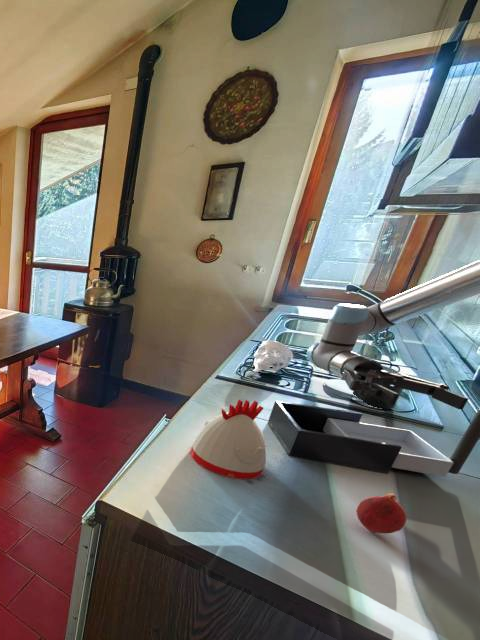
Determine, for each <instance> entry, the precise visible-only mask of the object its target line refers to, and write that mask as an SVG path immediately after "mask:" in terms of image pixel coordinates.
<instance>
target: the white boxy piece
mask: <svg viewBox="0 0 480 640" xmlns="http://www.w3.org/2000/svg"><path fill="white" fill-rule="evenodd" d="M323 431H324V432H325V433H326V434H332V435H338V436H345V437H351V438H357V439H363V440H369V441H376V442H382V443H388V444H394V445H400V446H401V447H402V448H401V450H400V452H399V454H398V455H397V457H396V459H395V461H394V463H393V465H392V467H391V468H392V469H393V468H394V469H399V470H405V471H410V472H417V473H420V474H421V473H422V474H428V475H432V476H437V477H438V476H439V477H447V475H448V473H450V474H453V475H458V474H459V473H460V471H461V470H462V468H463V466H464V465H465V463H466V461H467V460H468V458H469V457H470V454H471V453H472V451H473V450H474V448H475V447H476V445H477V443H478V442H479V440H480V408H479V409H477V411H476V413H475V415H474V417H473V418H472V419H471V421H470V423H469V425H468V427H467V428H466V429H465V432H464V433H463V435H462V437H461V438H460V440H459V442H458V444H457V445H456V447H455V449H454V450H453V452H452V455H451V456H450V457H448V456H446V455H444V453H442V452H440V451H439V450H438V449H437V448H435V447H434V446H433V445H431V444H430V443H429V442H427V441H426V440H425V439H424V438H422V437H420V436H419V435H418V434H416V433H415V432H414V431H413V430H411V429H404V428H398V427H392V426H385V425H378V424H372V423H371V424H370V423H364V422H359V423H358V422H352V421H345V420H338V419H332V418H328V419H327V421H326V424H325V426H324V429H323Z"/></svg>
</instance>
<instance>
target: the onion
mask: <svg viewBox="0 0 480 640" xmlns="http://www.w3.org/2000/svg"><path fill="white" fill-rule="evenodd" d="M396 499H397V496H396V495H395V494H394V493H390V492H389V493H387V494H385V495H383V496H382V495H374V496H369V497H366V498H364V499H362V500H361V501H360V503H359V504H358V505H357V507H356V511H355V512H356V515H357V519H358V521H359V522H360V524H361V525H362V526H364V528H366V529H367V530H368V531H369V532H371V533H373V534H392V533H395V532H399V531H401V530H402V529H404V527H405V525H406V522H407V514H406V511H405V509H404V507H402V505H401V504H400V503H399V502H398V501H397V500H396Z"/></svg>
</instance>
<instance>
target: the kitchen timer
mask: <svg viewBox="0 0 480 640" xmlns="http://www.w3.org/2000/svg"><path fill="white" fill-rule="evenodd" d="M263 410H264V407H263V406H262V405H259V402H258V401H257V400H254V401H253V402H252V403H251V405H250V401H249V400H248V399H246V400H244V403H243V400H241V399H238V401H237V403H236V405H235V406H234V405H232V404H231V403H230V404H229V410H228V412H227V411H225V409H223V408H222V409H221V414H219V415H217V416H216V417H213V419H211V420H210V421H206V422H205V423H204V425H203V427H202V428H201V430H200V431H199V433H198V434H197V435H196V436H195V438H194V440H193V442H192V446H191V448H190V456H191V458H192V459H193V460H194V461H195V462H196V463H197V464H199V465H200V466H202V467H203V468H204V469H206V470H209V471H211V472H212V473H214V474H217V475H220V476H224V477H227V478H232V479H239V480H253V479H256V478H259V477H260V476H261V475H262V474H263V472H264V469H265V467H266V461H267V457H266V456H267V455H266V444H265V438H264V435H263V432H262V430H261V428H260V427H259V425H258V424H257V423H256V421H255V419H256V418H257V417H258V416H259V415H260V414H261V412H262V411H263Z"/></svg>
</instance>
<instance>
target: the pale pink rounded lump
mask: <svg viewBox="0 0 480 640" xmlns="http://www.w3.org/2000/svg"><path fill="white" fill-rule="evenodd" d="M253 358H254V360H253V365H254V366H255V369H254V370H252V372H255V373H258V372H259V370H273V371H274V370H278V371H280V370H281V368H285V369H287V368H288V366H290V363H291V361H292V359H293V358H294V353H293V351H292V350H291V349H290V347H289V346H288V345H286V344H285V343H283V342H281V341H276V340H268V339H267V340H263V341H262V342H261V344H260V346H259V347H258V348H257V350H256V351H255V353H254V354H253ZM270 367H273V368H270Z"/></svg>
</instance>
